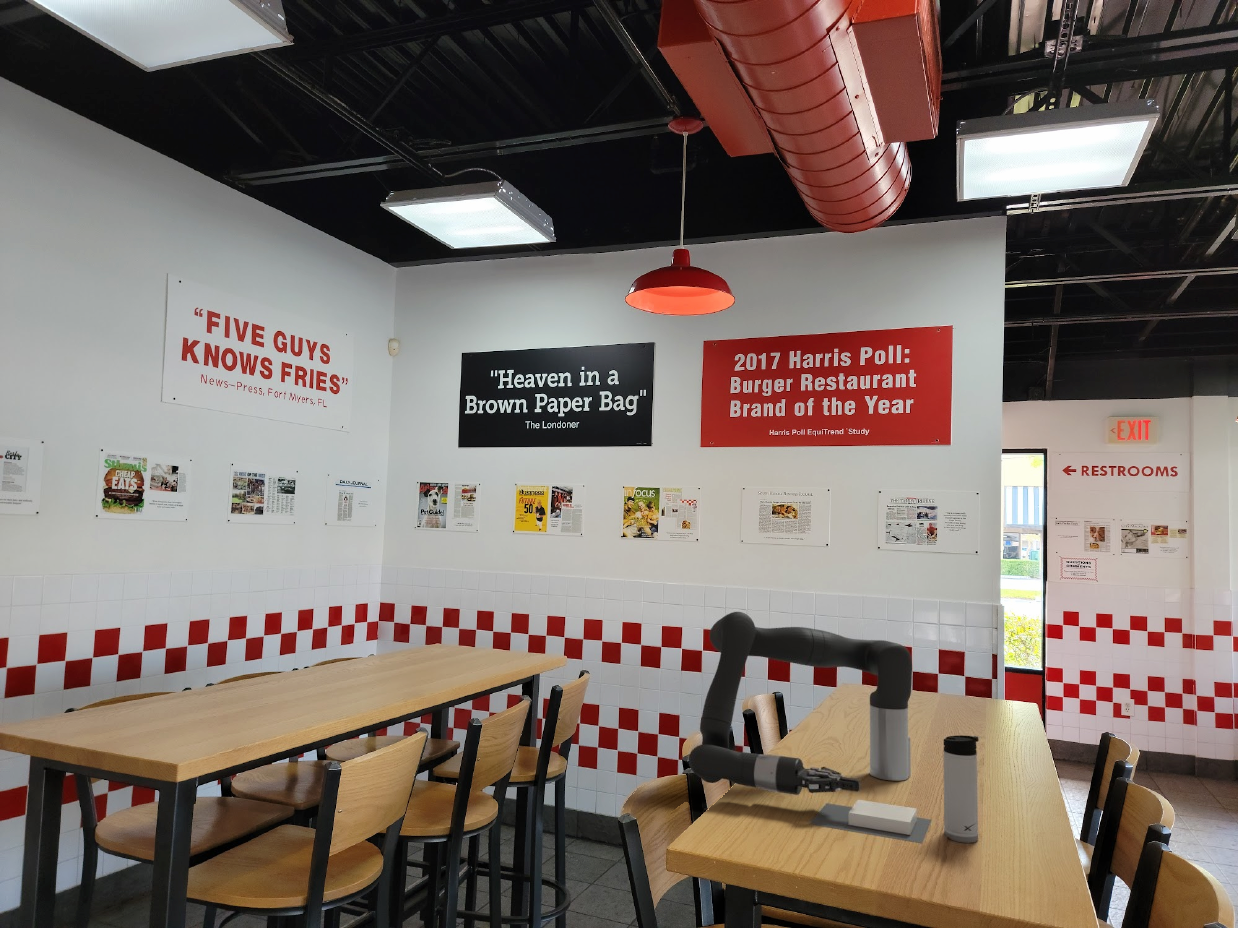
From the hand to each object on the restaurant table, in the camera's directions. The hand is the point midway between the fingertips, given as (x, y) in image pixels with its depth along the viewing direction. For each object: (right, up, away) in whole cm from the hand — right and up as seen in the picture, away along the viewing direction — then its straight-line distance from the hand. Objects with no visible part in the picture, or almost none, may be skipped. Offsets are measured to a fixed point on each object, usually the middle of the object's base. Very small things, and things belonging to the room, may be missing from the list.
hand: (859, 785), depth 178 cm
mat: (+2, -7, -2) cm, 8 cm away
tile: (-1, -6, 0) cm, 6 cm away
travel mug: (+18, -7, -9) cm, 21 cm away
